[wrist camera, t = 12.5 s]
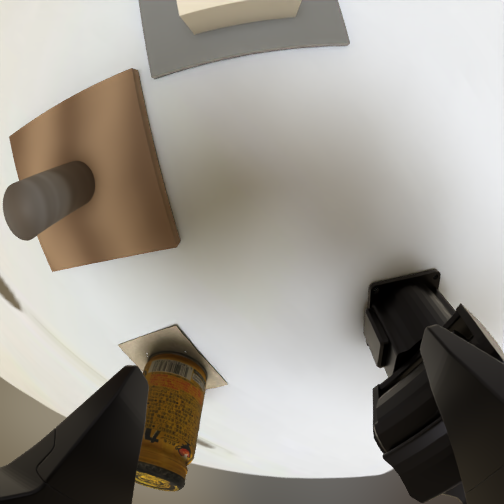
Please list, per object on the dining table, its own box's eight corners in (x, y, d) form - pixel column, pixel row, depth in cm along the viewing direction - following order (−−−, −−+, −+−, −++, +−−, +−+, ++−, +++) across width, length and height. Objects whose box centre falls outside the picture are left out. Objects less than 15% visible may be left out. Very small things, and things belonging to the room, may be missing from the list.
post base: (137, 70, 14) (77, 51, 8) (180, 241, 19) (146, 300, 13) (17, 134, 15) (-46, 152, 9) (58, 266, 20) (11, 312, 14)
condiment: (170, 395, 27) (147, 492, 16) (118, 343, 24) (70, 448, 13) (228, 382, 26) (217, 495, 15) (176, 322, 22) (135, 453, 12)
